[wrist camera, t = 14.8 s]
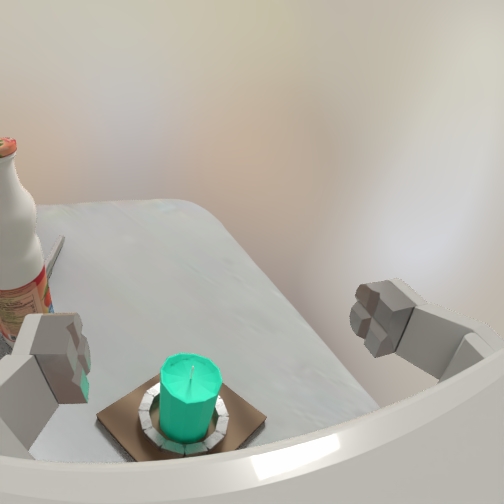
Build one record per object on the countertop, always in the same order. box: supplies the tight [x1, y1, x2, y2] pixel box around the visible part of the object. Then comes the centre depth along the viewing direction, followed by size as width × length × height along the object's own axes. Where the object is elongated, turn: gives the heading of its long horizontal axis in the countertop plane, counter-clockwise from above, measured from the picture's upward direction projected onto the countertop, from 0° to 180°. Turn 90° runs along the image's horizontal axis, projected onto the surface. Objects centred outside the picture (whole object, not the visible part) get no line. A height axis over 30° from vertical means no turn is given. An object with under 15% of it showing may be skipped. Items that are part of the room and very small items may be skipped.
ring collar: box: [138, 382, 229, 458], centre depth 34 cm, size 10×10×2 cm
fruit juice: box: [0, 138, 54, 348], centre depth 32 cm, size 9×9×28 cm
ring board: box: [96, 373, 267, 462], centre depth 35 cm, size 16×14×1 cm
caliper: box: [44, 235, 65, 281], centre depth 50 cm, size 20×1×6 cm, turn 17°
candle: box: [159, 353, 223, 443], centre depth 31 cm, size 6×6×12 cm
